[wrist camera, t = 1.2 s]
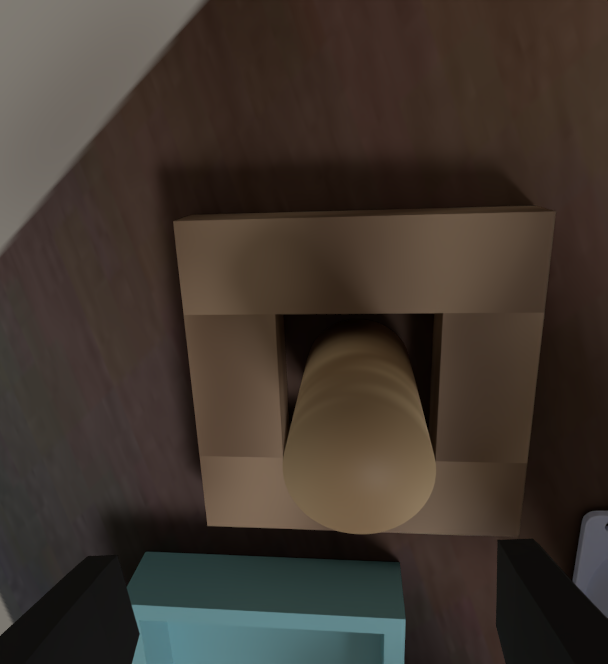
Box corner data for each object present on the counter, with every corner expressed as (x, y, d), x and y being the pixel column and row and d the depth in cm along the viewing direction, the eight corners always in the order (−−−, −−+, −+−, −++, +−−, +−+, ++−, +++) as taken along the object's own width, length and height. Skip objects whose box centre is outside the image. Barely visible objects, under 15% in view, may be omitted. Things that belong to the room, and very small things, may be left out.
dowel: (411, 318, 19) (439, 403, 13) (408, 414, 21) (432, 536, 14) (305, 319, 20) (278, 401, 13) (308, 413, 21) (286, 531, 15)
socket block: (534, 205, 18) (556, 211, 16) (504, 503, 22) (518, 537, 20) (191, 214, 19) (172, 221, 17) (220, 495, 23) (207, 525, 21)
